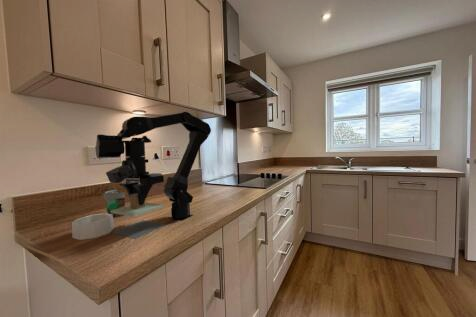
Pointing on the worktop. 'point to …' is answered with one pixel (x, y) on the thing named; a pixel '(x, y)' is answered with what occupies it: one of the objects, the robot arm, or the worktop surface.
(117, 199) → the food container
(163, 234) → the worktop surface
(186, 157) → the robot arm
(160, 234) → the worktop surface
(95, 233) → the bowl
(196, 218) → the worktop surface
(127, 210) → the lid
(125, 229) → the mat
